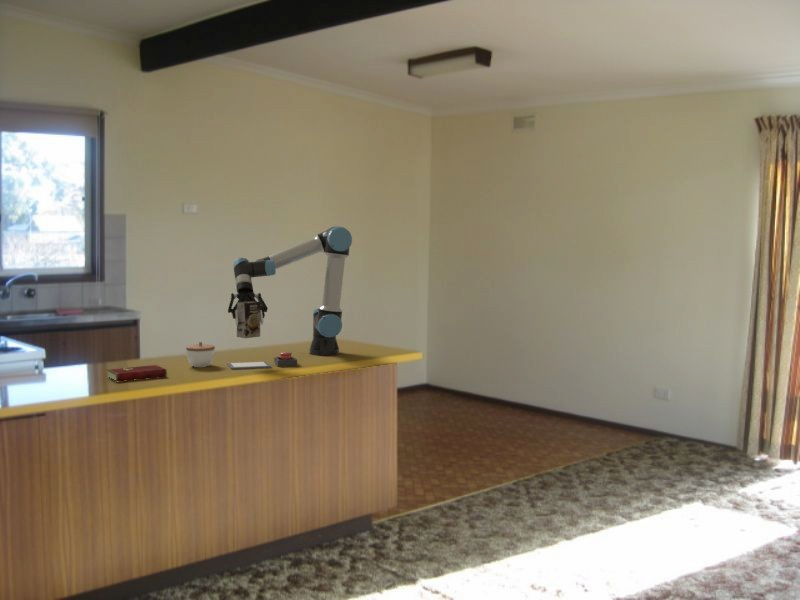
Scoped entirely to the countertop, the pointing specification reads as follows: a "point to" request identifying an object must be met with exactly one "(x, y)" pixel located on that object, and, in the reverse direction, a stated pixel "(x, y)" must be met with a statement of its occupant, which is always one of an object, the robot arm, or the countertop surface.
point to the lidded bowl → (200, 354)
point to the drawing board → (248, 365)
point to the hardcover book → (137, 372)
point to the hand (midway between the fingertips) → (249, 323)
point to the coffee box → (248, 319)
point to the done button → (285, 355)
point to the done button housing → (285, 362)
